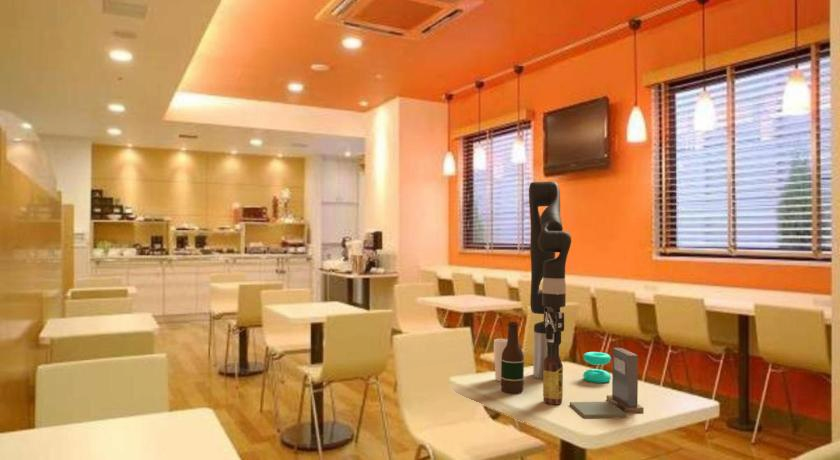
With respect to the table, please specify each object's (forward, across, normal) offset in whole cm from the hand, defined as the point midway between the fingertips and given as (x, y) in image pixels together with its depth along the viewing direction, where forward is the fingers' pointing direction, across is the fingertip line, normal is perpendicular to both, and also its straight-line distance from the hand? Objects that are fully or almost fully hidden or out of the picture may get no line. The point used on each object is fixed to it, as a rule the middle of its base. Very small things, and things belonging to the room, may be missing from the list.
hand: (553, 341), depth 192 cm
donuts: (+20, -28, +26) cm, 43 cm away
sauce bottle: (+20, 0, 0) cm, 20 cm away
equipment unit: (+20, +5, +22) cm, 30 cm away
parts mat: (+20, +10, +11) cm, 25 cm away
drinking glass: (+20, -29, -10) cm, 37 cm away
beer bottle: (+20, -14, -10) cm, 26 cm away
